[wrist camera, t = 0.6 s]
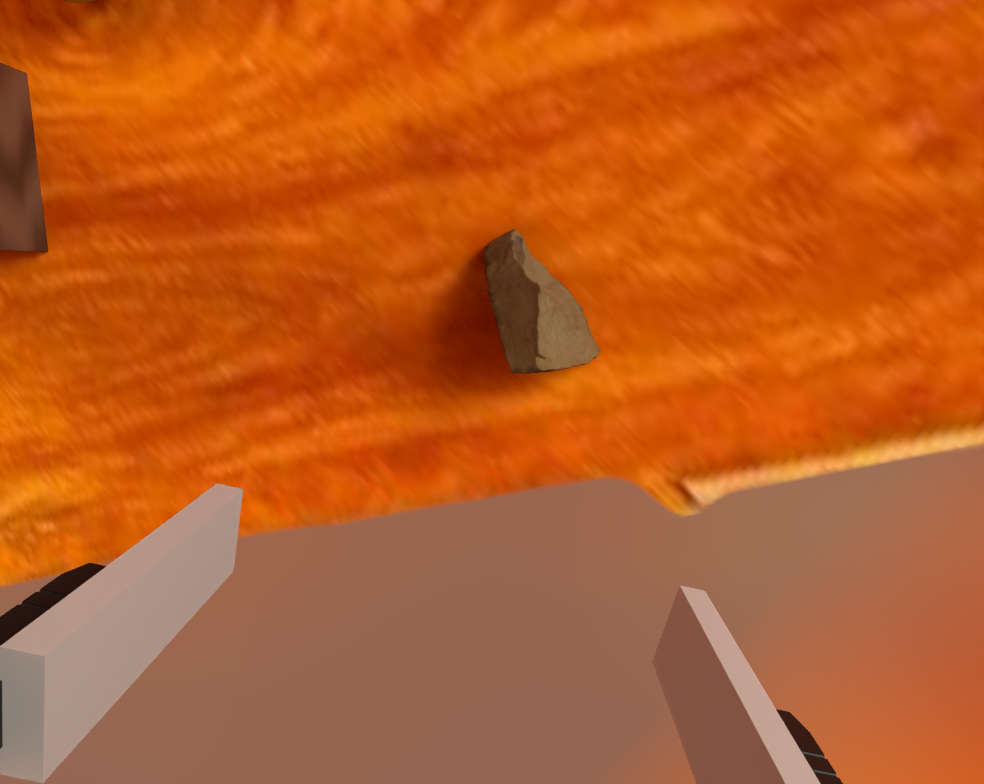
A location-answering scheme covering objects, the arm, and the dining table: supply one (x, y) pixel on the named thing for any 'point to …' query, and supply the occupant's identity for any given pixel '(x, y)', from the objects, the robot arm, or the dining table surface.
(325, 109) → the dining table surface
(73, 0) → the lemon
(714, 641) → the robot arm
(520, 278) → the rock
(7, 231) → the walnut block
